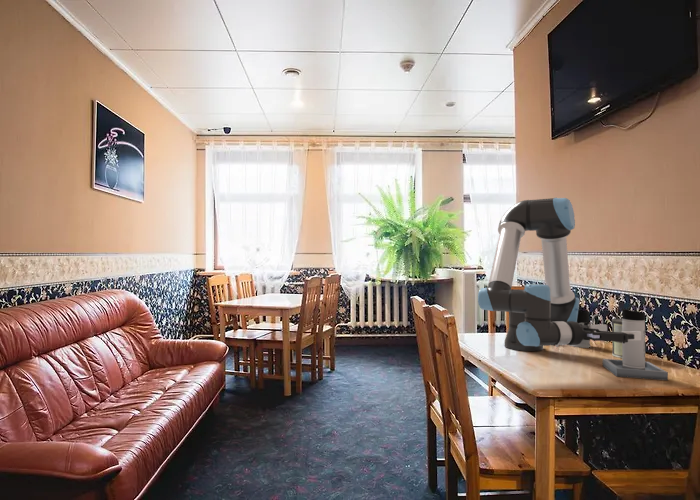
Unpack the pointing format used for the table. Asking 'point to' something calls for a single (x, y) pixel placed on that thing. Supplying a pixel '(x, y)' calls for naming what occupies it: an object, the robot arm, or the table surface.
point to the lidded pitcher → (581, 319)
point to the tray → (635, 370)
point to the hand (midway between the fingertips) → (622, 331)
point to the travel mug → (633, 349)
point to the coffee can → (615, 345)
